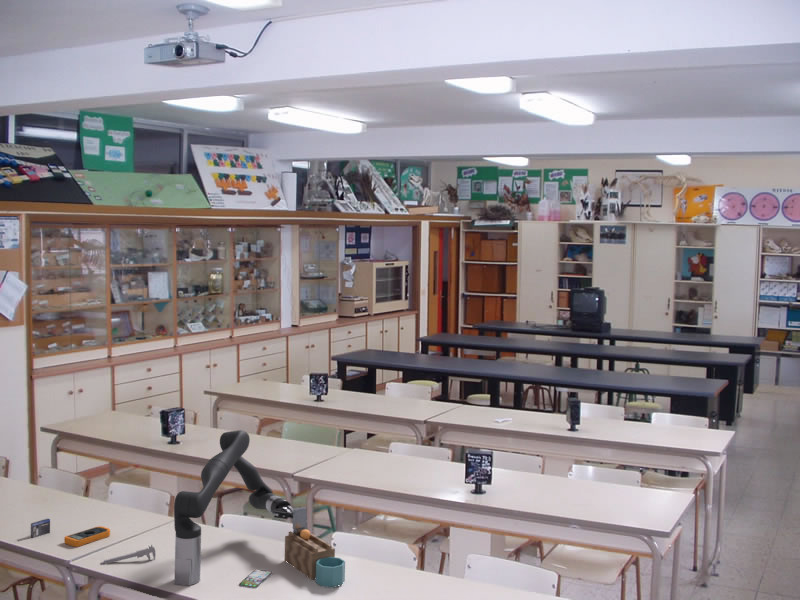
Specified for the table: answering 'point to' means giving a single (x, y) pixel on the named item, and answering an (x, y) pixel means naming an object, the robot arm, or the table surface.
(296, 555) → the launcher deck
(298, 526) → the gray rectangular block
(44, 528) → the mini dv tape
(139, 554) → the caliper
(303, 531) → the ball
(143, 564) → the table surface
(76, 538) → the multimeter
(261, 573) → the smartphone
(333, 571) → the cup
